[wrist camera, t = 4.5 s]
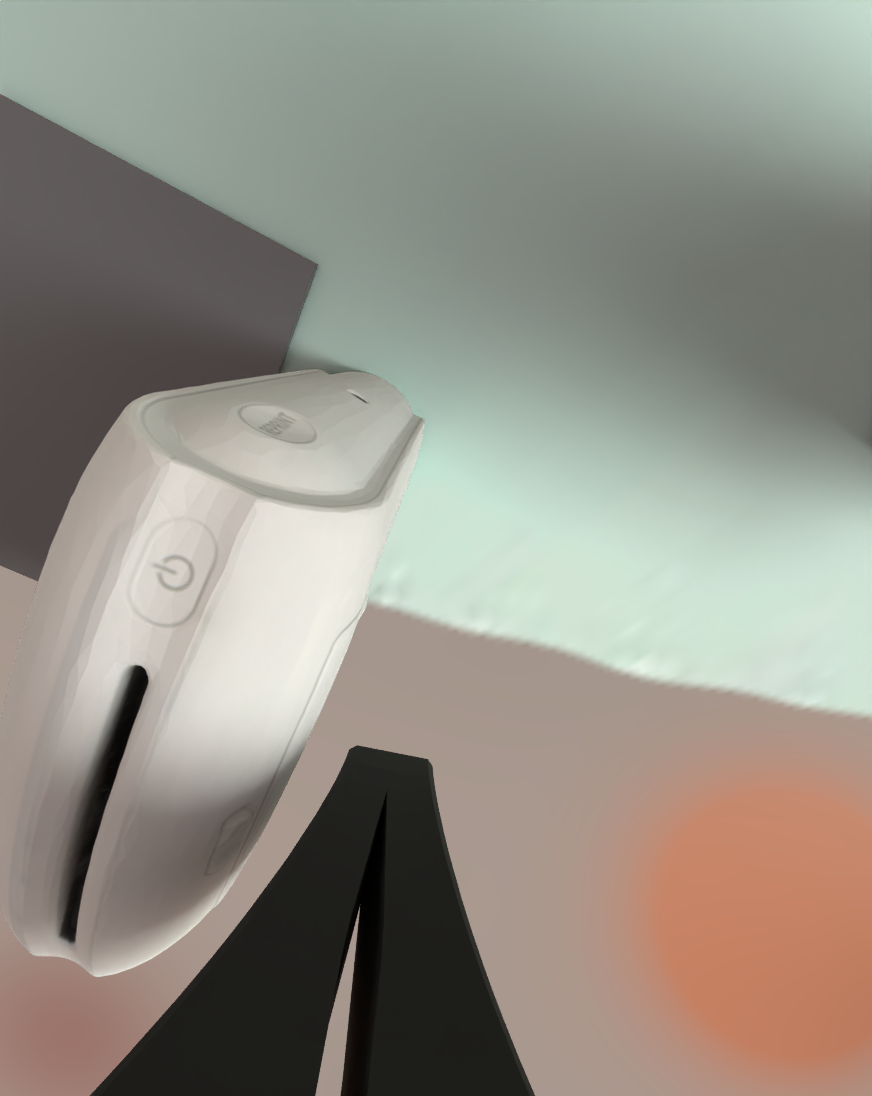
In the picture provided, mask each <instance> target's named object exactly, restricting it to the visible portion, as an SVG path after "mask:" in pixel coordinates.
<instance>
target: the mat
mask: <svg viewBox="0 0 872 1096" xmlns="http://www.w3.org/2000/svg"><path fill="white" fill-rule="evenodd" d="M317 266H318V265H317V264H315V263H314V262H312V261H310V260H308V259H306V258H304V257H302V256H301V255H299V254H297V253H295V252H293V251H291V250H289V249H288V248H286V247H284V246H282V245H280V244H278V243H276V242H275V241H273V240H271V239H269V238H267V237H265V236H263V235H261V234H260V233H258V232H256V231H254V230H252V229H250V228H248V227H247V226H245V225H243V224H241V223H239V222H237V221H235V220H234V219H232V218H230V217H228V216H226V215H224V214H222V213H221V212H219V211H217V210H215V209H213V208H211V207H209V206H208V205H206V204H204V203H202V202H200V201H198V200H196V199H195V198H193V197H191V196H189V195H187V194H185V193H183V192H181V191H180V190H178V189H176V188H174V187H172V186H170V185H168V184H167V183H165V182H163V181H161V180H159V179H157V178H155V177H154V176H152V175H150V174H148V173H146V172H144V171H142V170H141V169H139V168H137V167H135V166H133V165H131V164H129V163H128V162H126V161H124V160H122V159H120V158H118V157H116V156H115V155H113V154H111V153H109V152H107V151H105V150H103V149H101V148H100V147H98V146H96V145H94V144H92V143H90V142H88V141H87V140H85V139H83V138H81V137H79V136H77V135H75V134H74V133H72V132H70V131H68V130H66V129H64V128H62V127H61V126H59V125H57V124H55V123H53V122H51V121H49V120H48V119H46V118H44V117H42V116H40V115H38V114H36V113H34V112H33V111H31V110H29V109H27V108H25V107H23V106H21V105H20V104H18V103H16V102H14V101H12V100H10V99H8V98H7V97H5V96H3V95H1V94H0V565H1V566H3V567H6V568H8V569H10V570H13V571H15V572H17V573H20V574H22V575H25V576H27V577H29V578H32V579H34V580H36V581H38V580H39V577H40V575H41V572H42V569H43V567H44V564H45V561H46V559H47V555H48V552H49V549H50V546H51V544H52V541H53V539H54V537H55V535H56V533H57V530H58V527H59V525H60V523H61V521H62V518H63V516H64V514H65V511H66V509H67V506H68V504H69V501H70V499H71V497H72V495H73V494H74V492H75V489H76V487H77V485H78V483H79V480H80V478H81V476H82V474H83V473H84V471H85V469H86V467H87V466H88V464H89V462H90V460H91V459H92V457H93V455H94V454H95V452H96V451H97V449H98V447H99V446H100V444H101V443H102V441H103V439H104V438H105V436H106V434H107V433H108V432H109V430H110V429H111V427H112V426H113V424H114V423H115V422H116V420H117V419H118V417H119V416H120V415H121V413H122V412H123V410H124V409H125V407H126V406H128V405H129V404H130V403H131V402H132V401H134V400H136V399H138V398H140V397H142V396H144V395H147V394H151V393H154V392H161V391H169V390H175V389H182V388H187V387H195V386H201V385H207V384H212V383H218V382H226V381H232V380H239V379H246V378H252V377H259V376H265V375H274V374H279V372H280V370H281V367H282V364H283V361H284V358H285V356H286V353H287V350H288V347H289V345H290V342H291V339H292V336H293V333H294V331H295V328H296V325H297V322H298V319H299V317H300V314H301V311H302V308H303V305H304V303H305V300H306V297H307V294H308V291H309V289H310V286H311V283H312V280H313V277H314V275H315V272H316V269H317Z"/></svg>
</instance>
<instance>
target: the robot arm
mask: <svg viewBox="0 0 872 1096" xmlns="http://www.w3.org/2000/svg"><path fill="white" fill-rule="evenodd" d="M359 907H360V913H359V923H358V933H357V943H356V953H355V962H354V973H353V983H352V992H351V1002H350V1013H349V1022H348V1032H347V1043H346V1052H345V1062H344V1072H343V1081H342V1089H341V1096H535V1095H534V1092H533V1090H532V1088H531V1085H530V1083H529V1081H528V1078H527V1076H526V1074H525V1071H524V1069H523V1067H522V1064H521V1062H520V1059H519V1057H518V1054H517V1052H516V1049H515V1047H514V1044H513V1042H512V1040H511V1037H510V1034H509V1032H508V1029H507V1027H506V1024H505V1022H504V1020H503V1017H502V1014H501V1012H500V1009H499V1007H498V1004H497V1001H496V999H495V996H494V993H493V991H492V988H491V985H490V982H489V980H488V977H487V974H486V971H485V969H484V966H483V963H482V960H481V957H480V954H479V951H478V948H477V945H476V942H475V939H474V936H473V933H472V930H471V927H470V924H469V921H468V918H467V914H466V911H465V908H464V905H463V902H462V899H461V895H460V892H459V888H458V884H457V880H456V877H455V873H454V870H453V866H452V863H451V859H450V856H449V852H448V848H447V844H446V840H445V835H444V832H443V826H442V822H441V817H440V813H439V808H438V803H437V797H436V791H435V785H434V778H433V767H432V765H431V763H430V762H429V760H428V759H424V758H419V757H413V756H408V755H403V754H398V753H393V752H388V751H383V750H378V749H372V748H368V747H362V746H355V747H353V748H351V749H350V750H349V752H348V754H347V757H346V760H345V762H344V764H343V766H342V768H341V771H340V773H339V775H338V777H337V779H336V781H335V783H334V784H333V786H332V788H331V790H330V792H329V793H328V795H327V797H326V798H325V800H324V802H323V803H322V805H321V807H320V809H319V811H318V812H317V814H316V815H315V817H314V818H313V820H312V821H311V823H310V824H309V826H308V827H307V829H306V831H305V832H304V833H303V835H302V837H301V838H300V840H299V841H298V843H297V844H296V846H295V847H294V849H293V850H292V852H291V853H290V855H289V856H288V858H287V859H286V861H285V862H284V864H283V865H282V866H281V868H280V869H279V870H278V872H277V873H276V874H275V876H274V877H273V878H272V880H271V881H270V883H269V884H268V885H267V887H266V888H265V889H264V891H263V892H262V894H261V895H260V896H259V898H258V899H257V900H256V902H255V903H254V904H253V906H252V907H251V908H250V910H249V911H248V912H247V914H246V915H245V916H244V918H243V919H242V920H241V921H240V923H239V924H238V925H237V927H236V928H235V929H234V931H233V932H232V933H231V934H230V936H229V937H228V938H227V939H226V941H225V942H224V943H223V944H222V945H221V947H220V948H219V949H218V950H217V952H216V953H215V954H214V955H213V957H212V958H211V959H210V960H209V961H208V963H207V964H206V965H205V966H204V967H203V969H202V970H201V971H200V972H199V973H198V975H197V976H196V977H195V978H194V979H193V981H192V982H191V983H190V984H189V985H188V987H187V988H186V989H185V990H184V991H183V992H182V994H181V995H180V996H179V997H178V998H177V999H176V1001H175V1002H174V1003H173V1004H172V1005H171V1006H170V1007H169V1008H168V1010H167V1011H166V1012H165V1013H164V1014H163V1015H162V1017H161V1018H160V1019H159V1020H158V1021H157V1022H156V1023H155V1024H154V1025H153V1027H152V1028H151V1029H150V1030H149V1031H148V1032H147V1033H146V1034H145V1036H144V1037H143V1038H142V1039H141V1040H140V1041H139V1042H138V1043H137V1045H136V1046H135V1047H134V1048H133V1049H132V1050H131V1051H130V1053H129V1054H128V1055H127V1056H126V1057H125V1058H124V1059H123V1060H122V1061H121V1062H120V1064H119V1065H118V1066H117V1067H116V1068H115V1069H114V1070H113V1071H112V1072H111V1073H110V1075H109V1076H108V1077H107V1078H106V1079H105V1080H104V1081H103V1082H102V1083H101V1084H100V1085H99V1086H98V1087H97V1089H96V1090H95V1091H94V1092H93V1093H92V1094H91V1095H90V1096H315V1093H316V1088H317V1083H318V1078H319V1072H320V1067H321V1062H322V1056H323V1051H324V1046H325V1040H326V1035H327V1030H328V1024H329V1021H330V1017H331V1013H332V1009H333V1006H334V1002H335V998H336V994H337V990H338V987H339V983H340V979H341V975H342V972H343V968H344V964H345V960H346V956H347V953H348V949H349V945H350V941H351V938H352V934H353V930H354V926H355V922H356V919H357V915H358V910H359Z"/></svg>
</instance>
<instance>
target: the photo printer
mask: <svg viewBox="0 0 872 1096" xmlns="http://www.w3.org/2000/svg"><path fill="white" fill-rule="evenodd" d="M424 427H425V421H424V419H422V418H420V417H418V416H416V415H414V414H413V412H412V410H411V407H410V405H409V404H408V402H407V401H406V399H405V398H404V396H403V395H402V394H401V393H400V392H399V391H398V390H397V389H396V388H395V387H394V386H392V385H391V384H390V383H388V382H387V381H385V380H383V379H381V378H379V377H377V376H375V375H372V374H368V373H364V372H353V371H351V372H342V373H337V374H328V373H326V372H325V371H323V370H320V369H310V370H300V371H294V372H286V373H280V374H274V375H265V376H259V377H252V378H246V379H239V380H232V381H226V382H218V383H212V384H207V385H201V386H195V387H187V388H182V389H175V390H169V391H161V392H154V393H151V394H147V395H144V396H142V397H140V398H138V399H136V400H134V401H132V402H131V403H130V404H129V405H128V406H126V407H125V409H124V410H123V412H122V413H121V415H120V416H119V417H118V419H117V420H116V422H115V423H114V424H113V426H112V427H111V429H110V430H109V432H108V433H107V434H106V436H105V438H104V439H103V441H102V443H101V444H100V446H99V447H98V449H97V451H96V452H95V454H94V455H93V457H92V459H91V460H90V462H89V464H88V466H87V467H86V469H85V471H84V473H83V474H82V476H81V478H80V480H79V483H78V485H77V487H76V489H75V492H74V494H73V495H72V497H71V499H70V501H69V504H68V506H67V509H66V511H65V514H64V516H63V518H62V521H61V523H60V525H59V527H58V530H57V533H56V535H55V537H54V539H53V541H52V544H51V546H50V549H49V552H48V555H47V559H46V561H45V564H44V567H43V569H42V572H41V575H40V577H39V580H38V583H37V586H36V589H35V593H34V596H33V599H32V602H31V605H30V608H29V612H28V615H27V618H26V621H25V624H24V627H23V631H22V634H21V638H20V642H19V645H18V648H17V652H16V656H15V661H14V665H13V669H12V673H11V676H10V681H9V685H8V690H7V694H6V697H5V701H4V707H3V712H2V717H1V722H0V908H1V911H2V913H3V916H4V918H5V920H6V921H7V923H8V925H9V927H10V928H11V930H12V932H13V934H14V935H15V937H16V938H17V939H18V941H19V942H20V943H21V944H22V945H23V946H24V947H25V948H26V949H27V950H28V951H29V952H30V953H31V954H32V955H35V956H58V957H63V958H66V959H70V960H72V961H74V962H76V963H78V964H79V965H80V966H82V967H83V968H84V969H85V970H87V971H88V972H89V973H90V974H91V975H93V976H97V977H100V976H107V975H113V974H116V973H119V972H122V971H125V970H127V969H131V968H133V967H135V966H137V965H139V964H142V963H144V962H146V961H148V960H150V959H151V958H153V957H155V956H156V955H158V954H160V953H161V952H163V951H164V950H166V949H167V948H169V947H170V946H171V945H173V944H174V943H175V942H177V941H178V940H179V939H181V938H182V937H183V936H184V935H186V934H187V933H188V932H189V931H190V930H191V929H192V928H193V927H195V926H196V925H197V924H198V923H199V922H200V921H201V920H202V919H203V918H204V917H205V916H206V914H207V913H208V912H209V911H210V910H211V909H213V908H214V907H215V906H217V905H218V904H219V903H220V901H221V900H222V899H223V897H224V896H225V894H226V893H227V892H228V890H229V889H230V887H231V886H232V884H233V883H234V881H235V880H236V878H237V876H238V875H239V873H240V871H241V869H242V867H243V866H244V864H245V862H246V861H247V859H248V857H249V856H250V854H251V853H252V851H253V849H254V848H255V846H256V844H257V842H258V840H259V838H260V836H261V834H262V832H263V830H264V828H265V826H266V825H267V823H268V821H269V819H270V817H271V815H272V813H273V811H274V809H275V807H276V805H277V803H278V801H279V799H280V797H281V795H282V793H283V791H284V789H285V787H286V785H287V783H288V781H289V779H290V776H291V774H292V772H293V770H294V768H295V766H296V764H297V762H298V760H299V758H300V756H301V754H302V752H303V750H304V747H305V744H306V742H307V740H308V738H309V736H310V733H311V732H312V729H313V727H314V725H315V723H316V721H317V718H318V716H319V714H320V712H321V709H322V707H323V705H324V702H325V700H326V698H327V696H328V693H329V691H330V689H331V686H332V684H333V682H334V680H335V677H336V675H337V672H338V670H339V668H340V665H341V663H342V661H343V658H344V655H345V654H346V651H347V649H348V646H349V643H350V641H351V638H352V636H353V633H354V630H355V627H356V625H357V622H358V620H359V618H360V617H361V615H362V614H363V612H364V610H365V608H366V605H367V596H368V591H369V588H370V584H371V582H372V579H373V576H374V573H375V570H376V568H377V565H378V562H379V560H380V557H381V554H382V552H383V549H384V547H385V544H386V541H387V539H388V536H389V533H390V531H391V528H392V525H393V523H394V520H395V517H396V515H397V512H398V509H399V507H400V504H401V501H402V498H403V496H404V493H405V492H406V490H407V489H408V483H409V480H410V478H411V475H412V472H413V470H414V467H415V464H416V461H417V457H418V454H419V451H420V447H421V443H422V438H423V434H424Z"/></svg>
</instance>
